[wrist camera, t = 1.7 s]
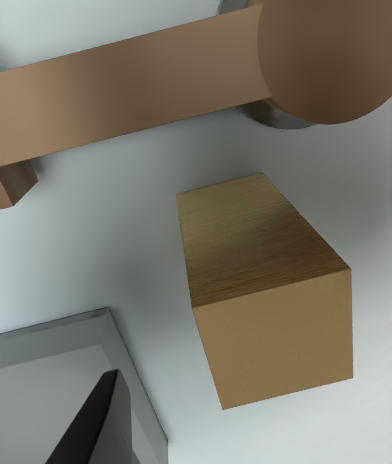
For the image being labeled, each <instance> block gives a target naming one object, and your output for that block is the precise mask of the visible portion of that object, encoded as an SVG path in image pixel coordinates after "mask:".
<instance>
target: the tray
mask: <svg viewBox="0 0 392 464" xmlns="http://www.w3.org/2000/svg"><path fill="white" fill-rule="evenodd" d="M114 369H119V370H120V371H121V372H122V374H123V377H124V379H125V381H126V383H127V385H128V387H129V390H130V396H131V423H132V464H168V441H167V438H166V436H165V434H164V432H163V429H162V427H161V425H160V423H159V421H158V418H157V416H156V414H155V412H154V409H153V407H152V405H151V403H150V400H149V398H148V396H147V394H146V392H145V389H144V387H143V385H142V383H141V380H140V378H139V376H138V374H137V371H136V369H135V367H134V365H133V363H132V360H131V358H130V356H129V354H128V351H127V349H126V347H125V345H124V342H123V340H122V338H121V336H120V334H119V331H118V329H117V327H116V325H115V322H114V320H113V318H112V316H111V313H110V311H109V309H108V307H107V308H103V309H99V310H95V311H91V312H87V313H83V314H79V315H75V316H71V317H67V318H63V319H59V320H55V321H51V322H47V323H43V324H39V325H35V326H31V327H27V328H23V329H19V330H15V331H11V332H7V333H3V334H0V464H45V462H46V461H47V459H48V458H49V456H50V455H51V453H52V452H53V450H54V448H55V447H56V445H57V444H58V442H59V441H60V439H61V438H62V436H63V435H64V433H65V431H66V430H67V428H68V427H69V425H70V424H71V422H72V421H73V419H74V418H75V416H76V414H77V413H78V411H79V410H80V408H81V407H82V405H83V404H84V402H85V401H86V399H87V397H88V396H89V394H90V393H91V391H92V390H93V388H94V387H95V385H96V384H97V382H98V380H99V379H100V377H101V376H102V374H103V373H104V372H106V371H110V370H114Z"/></svg>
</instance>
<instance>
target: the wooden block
mask: <svg viewBox="0 0 392 464" xmlns="http://www.w3.org/2000/svg"><path fill="white" fill-rule="evenodd" d="M176 198H177V205H178V212H179V219H180V226H181V233H182V240H183V247H184V254H185V261H186V268H187V276H188V283H189V290H190V297H191V304H192V310H193V313H194V316H195V320H196V323H197V326H198V330H199V333H200V336H201V340H202V343H203V346H204V350H205V353H206V356H207V360H208V363H209V366H210V369H211V373H212V376H213V379H214V383H215V386H216V389H217V393H218V396H219V399H220V403H221V406H222V409H223V410H224V409H228V408H233V407H237V406H241V405H245V404H249V403H253V402H257V401H261V400H265V399H269V398H273V397H277V396H282V395H286V394H290V393H294V392H298V391H302V390H306V389H310V388H314V387H318V386H322V385H326V384H331V383H335V382H339V381H343V380H347V379H351V378H353V342H352V288H351V268H350V267H349V266H348V265H347V264H346V263H345V262H344V261H343V260H342V259H341V257H340V256H339V255H338V254H337V253H336V252H335V251H334V250H333V249H332V248H331V247H330V246H329V245H328V243H327V242H326V241H325V240H324V239H323V238H322V237H321V236H320V235H319V234H318V233H317V232H316V231H315V229H314V228H313V227H312V226H311V225H310V224H309V223H308V222H307V221H306V220H305V219H304V218H303V216H302V215H301V214H300V213H299V212H298V211H297V210H296V209H295V208H294V207H293V206H292V205H291V204H290V202H289V201H288V200H287V199H286V198H285V197H284V196H283V195H282V194H281V193H280V192H279V191H278V190H277V188H276V187H275V186H274V185H273V184H272V183H271V182H270V181H269V180H268V179H267V178H266V177H265V176H264V174H263V173H259V174H255V175H251V176H247V177H243V178H239V179H235V180H231V181H227V182H223V183H219V184H215V185H211V186H207V187H203V188H200V189H196V190H192V191H188V192H184V193H180V194H176Z"/></svg>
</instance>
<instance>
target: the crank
mask: <svg viewBox="0 0 392 464" xmlns="http://www.w3.org/2000/svg"><path fill="white" fill-rule="evenodd" d="M391 96H392V0H247V1H246V3H245V6H244V9H241V10H237V11H233V12H229V13H226V14H222V15H218V16H214V17H210V18H206V19H203V20H199V21H195V22H191V23H187V24H183V25H179V26H176V27H172V28H168V29H164V30H160V31H156V32H153V33H149V34H145V35H141V36H137V37H133V38H130V39H126V40H122V41H118V42H114V43H110V44H106V45H103V46H99V47H95V48H91V49H87V50H83V51H80V52H76V53H72V54H68V55H64V56H60V57H57V58H53V59H49V60H45V61H41V62H37V63H33V64H30V65H26V66H22V67H18V68H14V69H10V70H7V71H3V72H0V209H4V208H8V207H12V206H14V205H15V204H16V203H17V202H18V201H19V200H20V199H21V198H22V197H23V196H24V195H25V194H26V193H27V192H28V191H29V190H30V189H31V188H32V187H33V186H34V185H35V184H36V183H37V182H38V179H37V177H36V175H35V173H34V171H33V169H32V166H31V164H30V162H29V160H28V159H31V158H35V157H39V156H43V155H47V154H50V153H54V152H58V151H62V150H66V149H70V148H74V147H78V146H82V145H86V144H89V143H93V142H97V141H101V140H105V139H109V138H113V137H117V136H121V135H125V134H128V133H132V132H136V131H140V130H144V129H148V128H152V127H156V126H160V125H163V124H167V123H171V122H175V121H179V120H183V119H187V118H191V117H195V116H199V115H202V114H206V113H210V112H214V111H218V110H222V109H226V108H230V107H234V106H238V105H241V104H245V103H249V102H253V101H257V100H262V101H264V102H265V103H267V104H268V105H270V106H272V107H274V108H276V109H279V110H281V111H284V112H286V113H288V114H291V115H293V116H296V117H298V118H301V119H303V120H306V121H309V122H313V123H317V124H339V123H345V122H349V121H352V120H355V119H358V118H360V117H362V116H364V115H366V114H368V113H370V112H371V111H373V110H375V109H376V108H378V107H379V106H380V105H382V104H383V103H384V102H386V101H387V100H388V99H389V98H390V97H391Z"/></svg>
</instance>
